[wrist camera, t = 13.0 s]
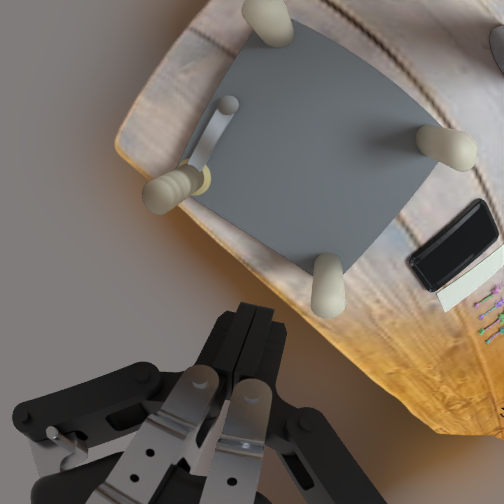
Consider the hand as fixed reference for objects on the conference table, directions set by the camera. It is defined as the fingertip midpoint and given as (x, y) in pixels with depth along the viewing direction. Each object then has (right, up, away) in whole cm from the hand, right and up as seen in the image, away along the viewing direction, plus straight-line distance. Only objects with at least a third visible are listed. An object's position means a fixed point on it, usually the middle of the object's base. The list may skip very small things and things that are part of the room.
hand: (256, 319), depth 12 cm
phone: (+29, +4, +19) cm, 35 cm away
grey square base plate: (+7, +15, +18) cm, 25 cm away
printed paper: (+49, -6, +20) cm, 53 cm away
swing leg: (-5, +15, +17) cm, 24 cm away
